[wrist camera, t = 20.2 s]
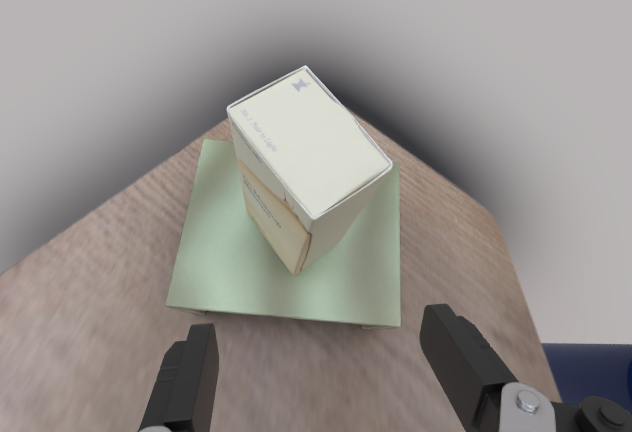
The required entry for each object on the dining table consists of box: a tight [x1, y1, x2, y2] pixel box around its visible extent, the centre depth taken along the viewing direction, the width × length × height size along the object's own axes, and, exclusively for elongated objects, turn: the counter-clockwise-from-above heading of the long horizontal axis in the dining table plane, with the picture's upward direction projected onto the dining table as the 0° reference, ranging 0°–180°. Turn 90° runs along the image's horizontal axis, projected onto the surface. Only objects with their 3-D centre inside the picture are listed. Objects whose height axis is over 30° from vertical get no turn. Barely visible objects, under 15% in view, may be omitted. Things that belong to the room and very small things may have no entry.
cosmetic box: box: [227, 66, 393, 276], centre depth 19 cm, size 6×4×12 cm
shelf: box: [165, 139, 401, 330], centre depth 28 cm, size 16×13×7 cm
